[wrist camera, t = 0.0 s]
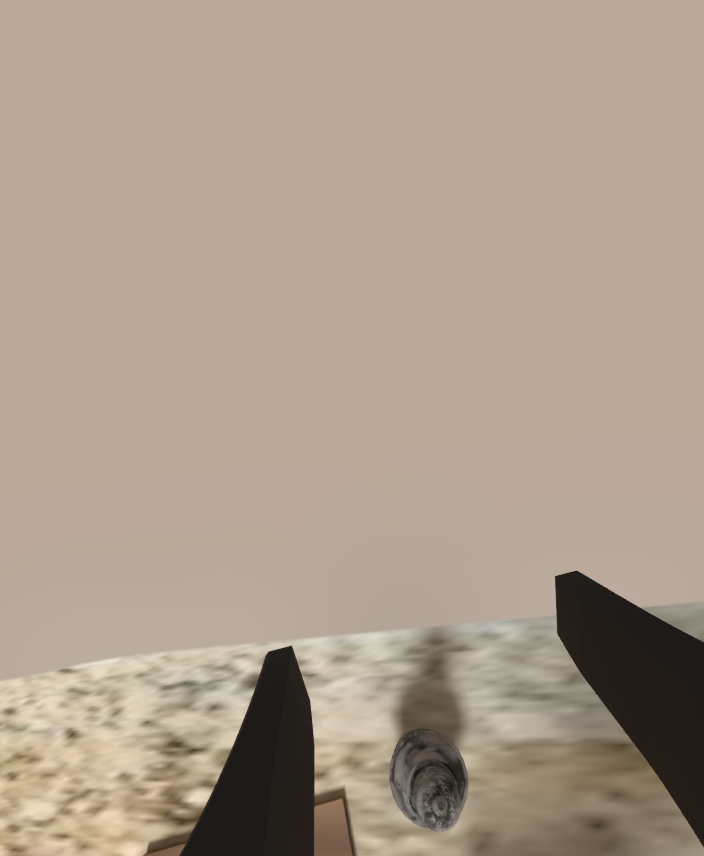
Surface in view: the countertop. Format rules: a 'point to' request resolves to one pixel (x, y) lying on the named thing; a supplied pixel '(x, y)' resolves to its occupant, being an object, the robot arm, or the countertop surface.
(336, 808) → the walnut board
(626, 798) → the countertop surface
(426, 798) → the dark grey turned piece
